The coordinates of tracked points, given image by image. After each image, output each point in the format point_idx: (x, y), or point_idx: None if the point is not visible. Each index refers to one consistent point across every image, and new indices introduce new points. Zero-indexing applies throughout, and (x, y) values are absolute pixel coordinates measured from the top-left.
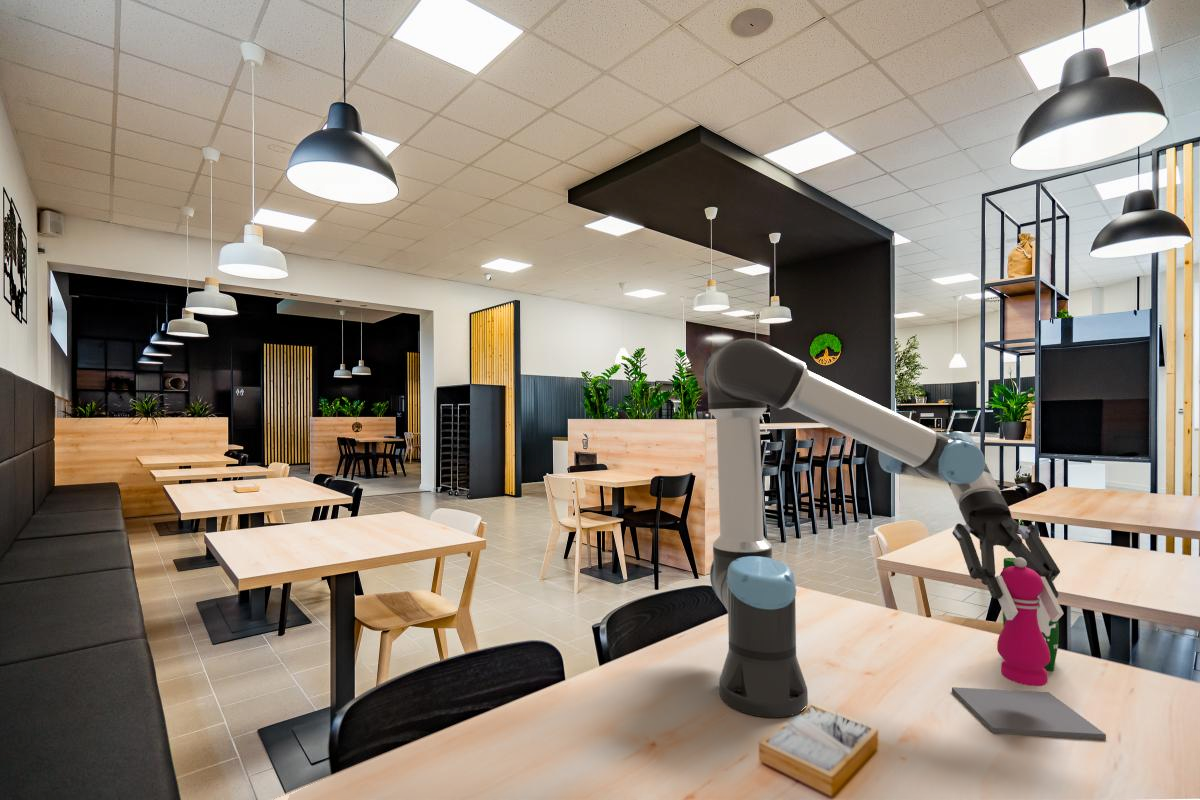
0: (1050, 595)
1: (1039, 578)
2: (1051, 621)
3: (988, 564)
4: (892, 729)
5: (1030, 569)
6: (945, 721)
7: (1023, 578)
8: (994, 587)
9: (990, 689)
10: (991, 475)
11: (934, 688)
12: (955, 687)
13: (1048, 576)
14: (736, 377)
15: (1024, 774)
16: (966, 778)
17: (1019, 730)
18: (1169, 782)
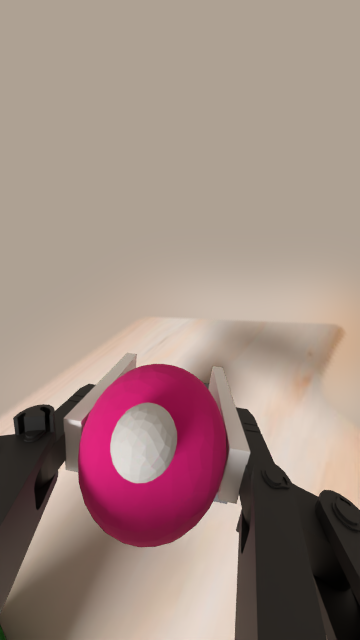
0: (116, 375)
1: (125, 373)
2: None
3: (296, 546)
4: (314, 397)
5: (122, 404)
6: (261, 412)
7: (185, 371)
8: (253, 426)
9: None
10: None
11: None
12: (221, 502)
13: (46, 419)
14: None
15: (232, 333)
16: (271, 331)
17: (204, 383)
18: (146, 323)
